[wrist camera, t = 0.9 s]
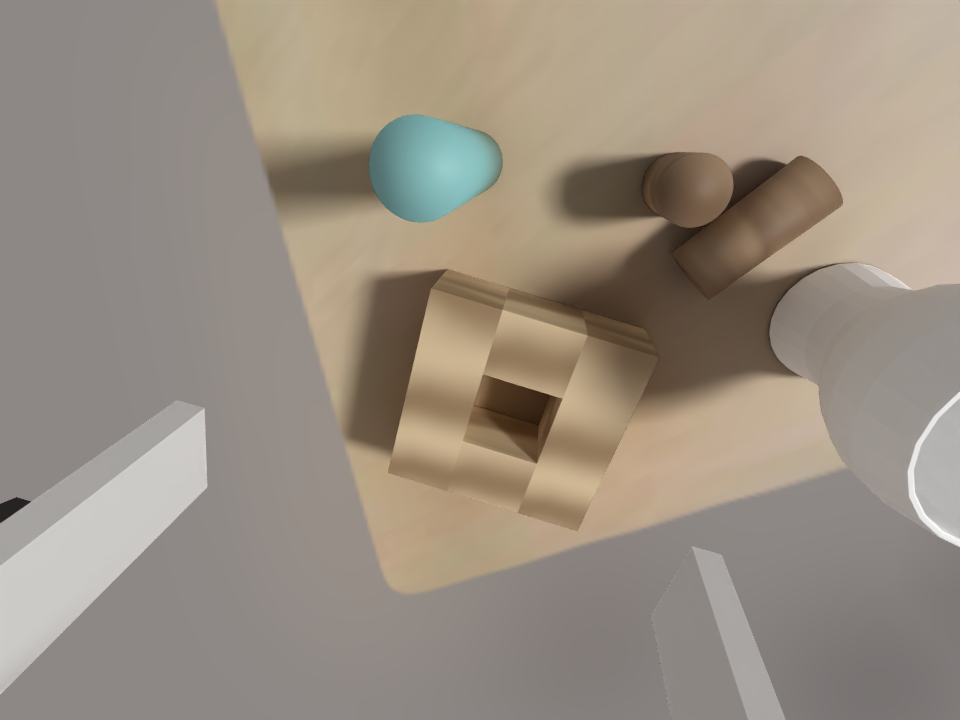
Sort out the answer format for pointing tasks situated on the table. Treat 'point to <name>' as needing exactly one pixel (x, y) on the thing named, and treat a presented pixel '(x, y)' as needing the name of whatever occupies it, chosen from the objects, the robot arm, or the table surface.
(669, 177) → the pin short
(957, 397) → the cup
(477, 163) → the pin long
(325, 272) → the table surface
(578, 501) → the hole block
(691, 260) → the pin medium
